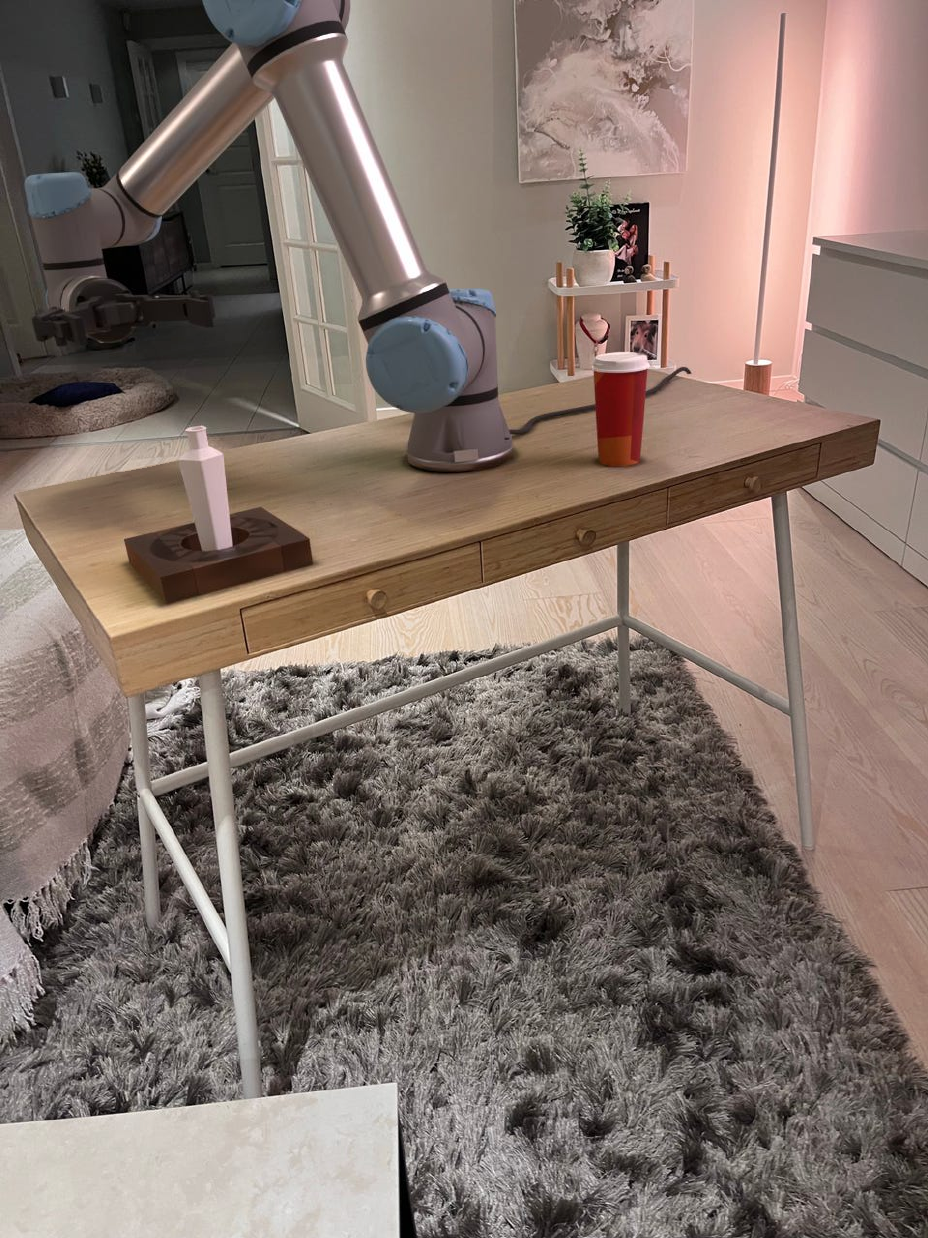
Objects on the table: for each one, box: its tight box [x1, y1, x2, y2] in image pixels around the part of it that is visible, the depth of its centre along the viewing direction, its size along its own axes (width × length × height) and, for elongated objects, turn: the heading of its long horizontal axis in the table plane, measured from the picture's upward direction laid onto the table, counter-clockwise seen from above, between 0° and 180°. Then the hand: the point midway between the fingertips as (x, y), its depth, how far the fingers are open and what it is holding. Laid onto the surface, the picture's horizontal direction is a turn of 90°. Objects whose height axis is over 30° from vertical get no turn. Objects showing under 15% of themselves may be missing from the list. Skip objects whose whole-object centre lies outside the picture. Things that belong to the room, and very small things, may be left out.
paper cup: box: [590, 351, 651, 467], centre depth 126 cm, size 8×8×14 cm
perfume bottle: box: [177, 425, 232, 551], centre depth 99 cm, size 5×4×15 cm
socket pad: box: [123, 506, 314, 605], centre depth 102 cm, size 16×14×3 cm
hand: (146, 322), depth 100 cm, fingers open, 13 cm apart
